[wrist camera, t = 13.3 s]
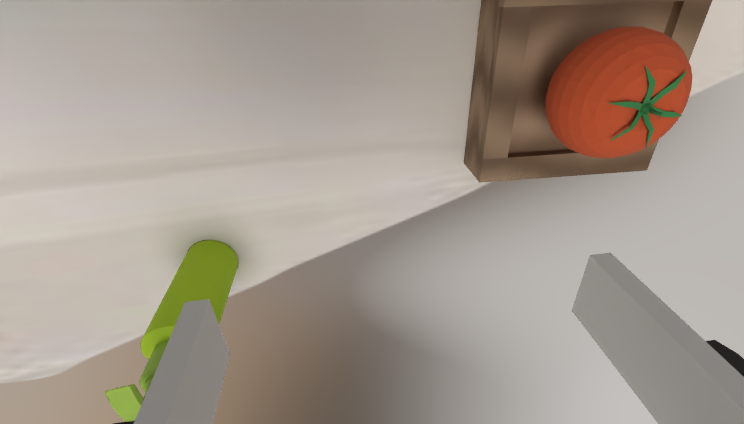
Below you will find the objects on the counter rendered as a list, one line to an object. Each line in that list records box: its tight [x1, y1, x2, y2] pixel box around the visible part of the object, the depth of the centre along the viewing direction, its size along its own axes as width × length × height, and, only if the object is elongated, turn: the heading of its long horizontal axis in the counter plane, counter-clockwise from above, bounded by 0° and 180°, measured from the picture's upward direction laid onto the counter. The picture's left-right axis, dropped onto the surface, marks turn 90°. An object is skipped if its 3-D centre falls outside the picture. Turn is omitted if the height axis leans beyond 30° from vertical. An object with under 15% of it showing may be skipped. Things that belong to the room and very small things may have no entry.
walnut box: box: [464, 0, 712, 182], centre depth 36 cm, size 18×18×5 cm
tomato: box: [545, 27, 692, 158], centre depth 30 cm, size 10×10×10 cm
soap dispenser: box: [105, 240, 238, 422], centre depth 36 cm, size 6×7×20 cm
